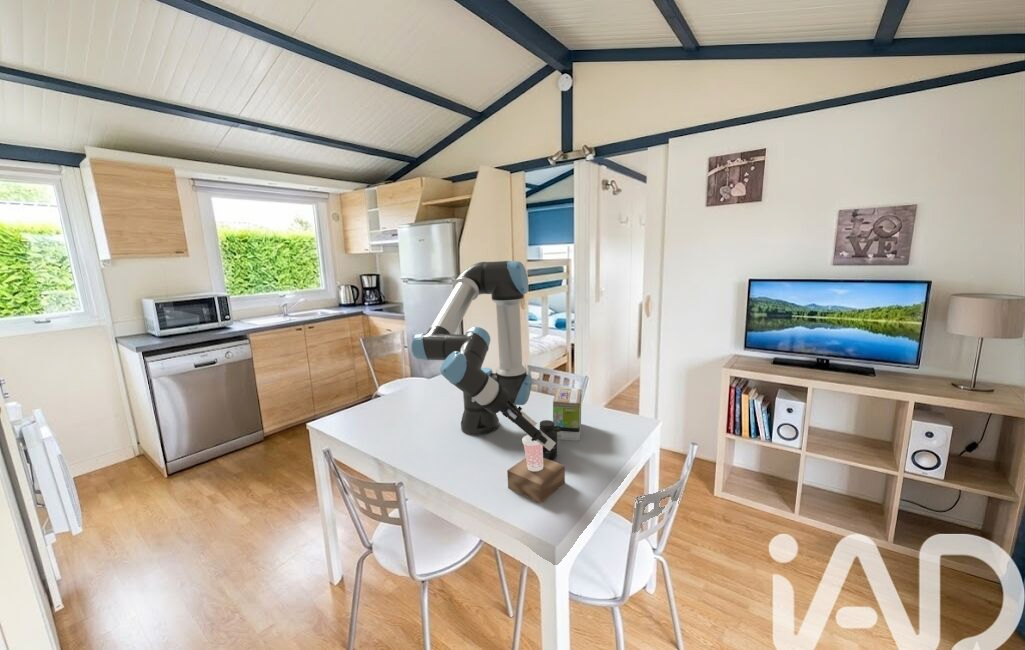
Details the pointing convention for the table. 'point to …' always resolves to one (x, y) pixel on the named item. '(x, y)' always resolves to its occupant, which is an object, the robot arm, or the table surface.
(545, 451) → the supplement bottle
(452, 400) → the table surface
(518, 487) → the walnut block
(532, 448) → the beverage cup
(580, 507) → the table surface
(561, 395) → the tea box
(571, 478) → the table surface
